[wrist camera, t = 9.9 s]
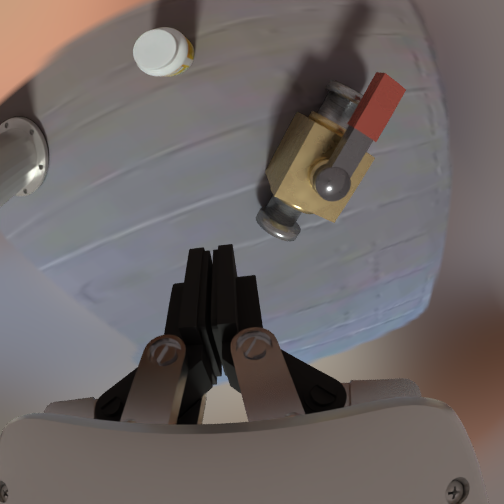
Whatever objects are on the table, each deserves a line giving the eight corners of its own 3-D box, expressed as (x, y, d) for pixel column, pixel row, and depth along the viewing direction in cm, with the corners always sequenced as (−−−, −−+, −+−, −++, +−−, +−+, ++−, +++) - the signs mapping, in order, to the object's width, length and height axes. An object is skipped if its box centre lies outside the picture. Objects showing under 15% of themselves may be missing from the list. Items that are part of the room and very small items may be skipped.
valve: (297, 225, 42) (312, 262, 35) (247, 206, 40) (252, 241, 33) (367, 106, 32) (402, 119, 25) (316, 75, 30) (343, 77, 23)
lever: (334, 200, 30) (339, 207, 29) (306, 186, 29) (310, 193, 28) (399, 90, 23) (408, 92, 22) (373, 70, 22) (381, 70, 21)
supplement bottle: (181, 82, 29) (165, 85, 22) (143, 66, 28) (115, 66, 20) (203, 45, 27) (195, 34, 19) (164, 29, 25) (143, 15, 17)
